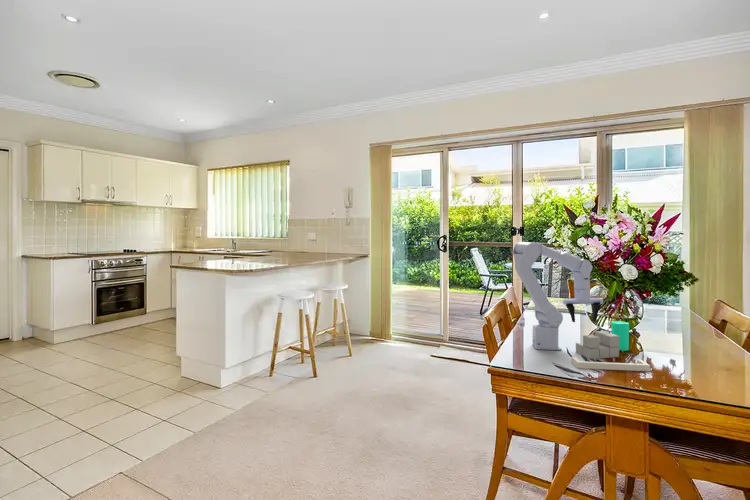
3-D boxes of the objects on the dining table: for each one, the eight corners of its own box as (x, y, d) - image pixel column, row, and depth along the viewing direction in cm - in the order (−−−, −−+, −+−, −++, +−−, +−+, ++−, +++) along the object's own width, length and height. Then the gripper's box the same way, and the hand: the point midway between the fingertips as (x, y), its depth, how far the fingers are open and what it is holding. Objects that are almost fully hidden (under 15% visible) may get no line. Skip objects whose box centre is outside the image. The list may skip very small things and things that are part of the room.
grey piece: (577, 368, 135) (577, 362, 135) (571, 362, 141) (571, 356, 141) (649, 371, 131) (650, 365, 131) (640, 365, 137) (640, 359, 137)
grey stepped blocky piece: (596, 348, 158) (596, 328, 158) (619, 357, 146) (619, 336, 146) (568, 349, 156) (568, 329, 156) (589, 359, 144) (590, 337, 144)
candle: (631, 351, 153) (632, 320, 152) (614, 350, 154) (614, 319, 154) (625, 346, 159) (625, 317, 158) (608, 346, 160) (609, 316, 159)
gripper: (598, 286, 163) (600, 318, 164) (560, 287, 167) (562, 319, 168) (604, 288, 156) (605, 322, 157) (564, 290, 160) (566, 323, 161)
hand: (583, 321), depth 162 cm, fingers open, 7 cm apart
